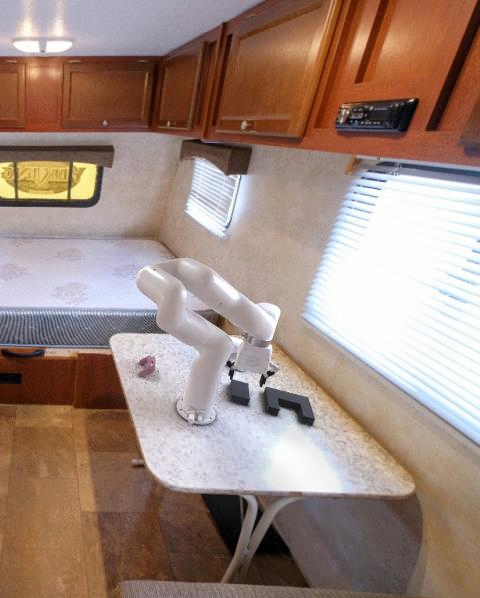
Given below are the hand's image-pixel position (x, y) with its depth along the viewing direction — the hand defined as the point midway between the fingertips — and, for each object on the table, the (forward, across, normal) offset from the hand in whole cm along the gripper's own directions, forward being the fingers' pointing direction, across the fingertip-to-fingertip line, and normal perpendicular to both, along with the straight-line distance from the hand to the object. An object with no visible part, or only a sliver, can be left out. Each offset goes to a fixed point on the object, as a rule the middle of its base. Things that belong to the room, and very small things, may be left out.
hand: (245, 381), depth 126 cm
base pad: (+8, +16, +2) cm, 18 cm away
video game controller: (+8, -34, +2) cm, 35 cm away
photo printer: (+9, -2, +22) cm, 24 cm away
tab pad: (+8, 0, +2) cm, 9 cm away
